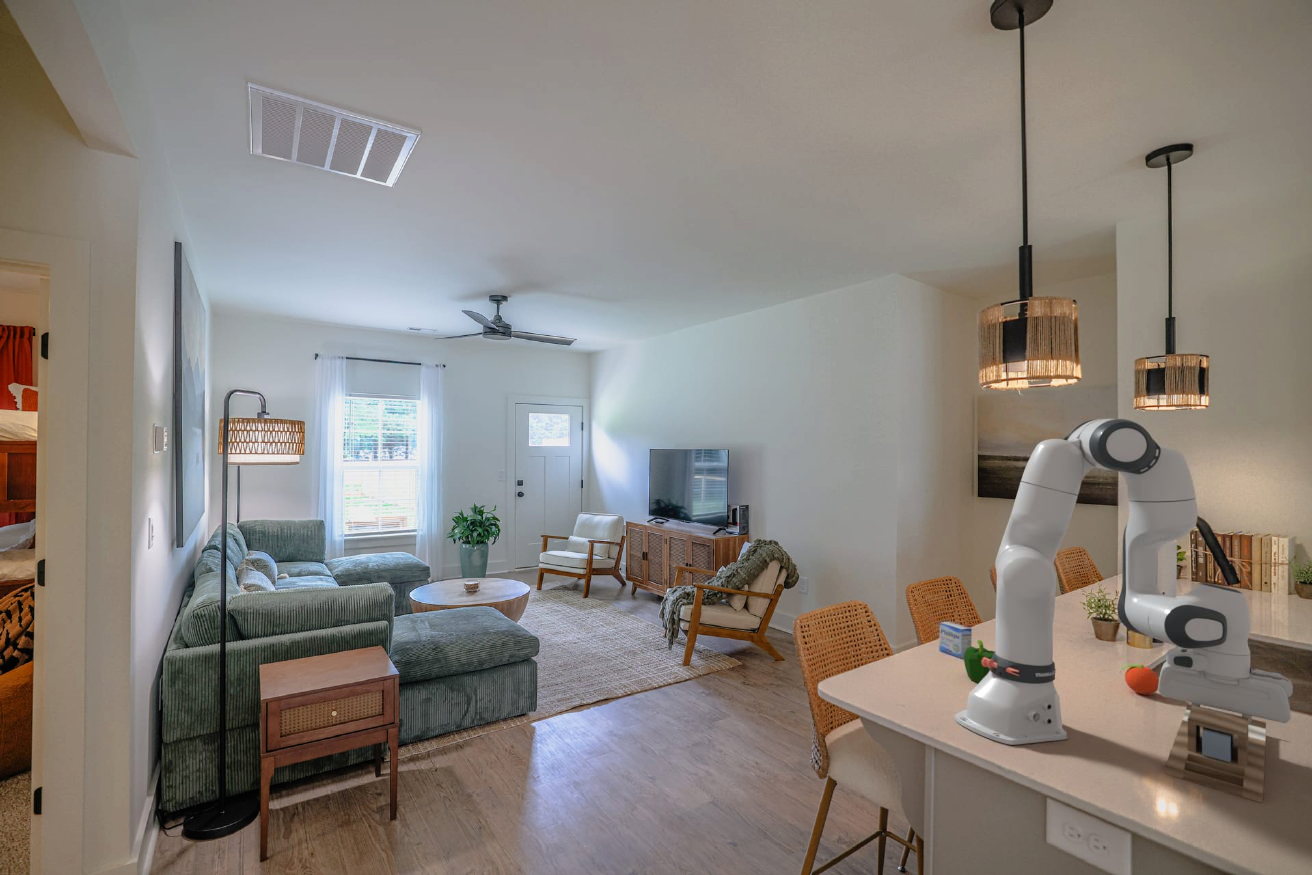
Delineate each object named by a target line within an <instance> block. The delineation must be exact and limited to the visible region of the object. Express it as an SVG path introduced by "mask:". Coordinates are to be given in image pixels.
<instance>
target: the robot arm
mask: <svg viewBox="0 0 1312 875" xmlns="http://www.w3.org/2000/svg"><path fill="white" fill-rule="evenodd" d="M1186 460H1187V459H1186V458H1185V456H1184V455H1183V453H1181V452H1180V451H1179V450H1177V449H1175V448H1172V447H1169V446H1163V445H1159V444H1158V443H1157V442H1156V441H1155V440H1154V438H1152V436H1151V434H1150V432H1148V431H1147V429H1146V428H1144V426H1142V425H1141V424H1139V423H1137V422H1135V421H1132V420H1131V419H1123V418H1114V417H1113V418H1112V417H1103V418H1097V419H1091V420H1087V421H1084V422H1083V423H1081V424H1079V425H1078V426H1076V427H1075V428H1074V429H1073V430H1072V431H1071V432H1070V433H1068V434H1067V435H1066V436H1064V438H1050V439H1049V438H1048V439H1045V440H1042V441H1040V442H1039V443H1038V444H1037V445H1036V446H1035V447H1034V449H1033V451H1032V453H1031V455H1030V457H1029V459H1028V461H1027V464H1025V465H1026V466H1025V468H1024V471H1023V474H1022V477H1021V479H1020V483H1019V486H1018V490H1017V493H1016V497H1015V499H1014V503H1013V507H1012V509H1011V512H1010V516H1009V518H1008V519H1009V520H1008V523H1007V525H1006V528H1005V530H1004V533H1003V536H1002V538H1001V541H1000V542H1001V543H1000V545H999V549H998V552H997V555H996V557H995V558H996V559H995V563H994V564H995V565H994V566H995V573H996V595H995V596H996V598H995V600H996V601H995V602H996V603H995V606H996V607H995V632H994V633H995V635H994V636H995V637H994V638H995V639H994V640H995V647H994V650H995V652H994V653H993V656H992V659H988V658H986V657H984V658H983V660H982V662H981V663H982V665H983V666H985V667H989V669H990V671H989V673H988V674H987V675H986V676H985V677H984V678H983V679H982V680H981V681H980V682H978V684H976V686H975V687H974V688H972V690H971V691H970V692H969V694H968V696H967V700H966V701H967V703H966V709H963V710H961V711H959V712H957V713H955V714H954V720H955V721H956V722H957V723H958V724H959V725H960V726H962V727H965V728H966V729H968V730H970V731H972V732H974V733H975V734H978V735H980V736H982V737H984V738H987V739H990V740H992V741H996V742H998V743H1002V744H1004V745H1009V746H1010V745H1011V746H1012V745H1014V746H1015V745H1025V744H1033V743H1035V744H1036V743H1043V742H1052V741H1062V740H1068V733H1067V732H1066V730H1064V728H1063V721H1062V712H1061V700H1060V695H1059V694H1058V692H1057V689H1056V688H1055V684H1054V681H1055V679H1056V672H1057V671H1056V663H1055V662H1054V661H1053V660H1054V659H1053V657H1054V656H1053V652H1054V649H1053V648H1054V644H1053V643H1054V638H1053V637H1054V634H1053V633H1054V620H1055V619H1054V618H1055V607H1056V593H1057V592H1056V591H1057V590H1056V589H1057V573H1056V570H1055V567H1054V562H1055V559H1056V557H1057V554H1058V552H1059V549H1060V548H1061V545H1062V542H1063V539H1064V537H1065V536H1066V533H1067V532H1068V529H1069V526H1070V523H1071V520H1072V518H1073V517H1072V515H1073V513H1074V509H1075V507H1076V503H1077V500H1078V496H1079V494H1080V489H1081V486H1082V481H1084V478H1085V477H1086V475H1087V474H1088V473H1089V472H1090V471H1091V470H1093V469H1095V468H1096V469H1100V470H1105V471H1114V472H1115V471H1116V472H1119V474H1121V475H1122V477H1123V479H1124V481H1125V483H1126V484H1125V485H1126V486H1127V497H1128V511H1129V512H1128V522H1127V524H1126V525H1125V527H1124V530H1123V535H1122V576H1121V577H1122V582H1121V583H1122V584H1121V590H1120V595H1119V596H1118V601H1117V605H1116V606H1117V608H1116V610H1117V611H1116V612H1117V615H1118V618H1119V620H1120V622H1121V623H1122V625H1124V627H1125V628H1127V629H1128V630H1129V631H1130V632H1133V633H1136V634H1139V635H1143V636H1146V637H1151V638H1153V639H1155V640H1157V641H1161V642H1162V643H1163V642H1164V643H1167V644H1168V645H1172V646H1175V647H1178V648H1170V649H1169V650H1168V651H1167V652H1166V653H1165V660H1166V661H1165V662H1164V663H1163V665H1162V667H1161V669H1160V674H1159V676H1158V678H1159V684H1158V690H1157V691H1158V693H1159V694H1160V695H1161V696H1162V697H1164V698H1169V699H1173V700H1178V701H1182V702H1186V703H1191V705H1192V706H1193V705H1195V706H1199V707H1201V706H1204V707H1209V708H1214V709H1219V710H1223V711H1226V712H1227V711H1228V712H1232V713H1237V714H1241V716H1242V717H1246V718H1248V724H1249V723H1250V722H1251V721H1252V719H1253V717H1255V718H1259V719H1263V720H1267V721H1273V722H1278V723H1281V724H1286V723H1288V722H1289V721H1291V720H1292V719H1291V718H1292V717H1291V707H1290V701H1289V698H1290V697H1291V696H1292V695H1293V693H1294V692H1293V691H1294V689H1293V683H1292V681H1291V680H1290V679H1289V678H1287V677H1285V676H1283V675H1282V674H1281V673H1278V672H1271V671H1266V670H1263V669H1257V668H1251V650H1250V647H1249V644H1248V642H1249V641H1248V640H1249V636H1250V635H1251V615H1250V607H1249V603H1248V600H1247V597H1246V595H1245V594H1244V593H1243V592H1241V591H1240V590H1238V589H1235V588H1230V587H1226V586H1223V585H1219V584H1215V583H1209V582H1199V583H1197V585H1196V586H1195V587H1194V589H1192V590H1191V591H1189V592H1186V593H1184V594H1182V595H1177V596H1175V597H1172V596H1169V595H1166V594H1164V593H1163V592H1161V590H1160V589H1159V587H1158V553H1159V551H1160V549H1161V548H1162V547H1163V546H1164V545H1166V544H1169V543H1172V542H1175V541H1178V540H1181V539H1183V538H1184V537H1186V536H1187V535H1189V534H1190V533H1191V532H1192V531H1193V530H1194V529H1195V528H1196V526H1197V521H1198V506H1197V505H1198V504H1197V503H1198V502H1197V498H1196V490H1195V486H1194V481H1193V478H1192V474H1191V472H1190V471H1191V470H1190V469H1189V464H1188V463H1187V461H1186Z"/></svg>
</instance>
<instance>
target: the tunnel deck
mask: <svg viewBox="0 0 1312 875" xmlns="http://www.w3.org/2000/svg"><path fill="white" fill-rule="evenodd" d="M1216 710H1217V709H1213V710H1212V708H1206V707H1202V706H1200V707H1199V706H1195V705H1193V706H1192V704H1189V703H1186V709H1185V712H1184V715H1183V718H1182V719H1181V723H1180V726H1179V728H1178V731H1177V733H1176V737H1175V738H1174V742H1173V744H1172V746H1171V747H1172V748H1171V749H1170V751H1169V755H1168V757H1167V759H1166V763H1165V774H1166V775H1169V776H1172V777H1176V778H1177V779H1182V780H1185V781H1188V782H1191V783H1195V784H1198V785H1202V786H1205V787H1208V788H1213V789H1216V790H1218V791H1222V792H1225V793H1229V794H1232V795H1235V796H1238V797H1240V798H1244V799H1248V800H1252V801H1255V802H1259V803H1262V804H1263V803H1264V785H1265V766H1266V765H1265V763H1266V744H1267V743H1266V741H1267V739H1266V738H1267V732H1266V731H1267V722H1266V721H1263V720H1258V719H1253V718H1252V721H1251V722H1250V723H1249V724H1248V718H1246V717H1242V715H1237V714H1234V715H1233V713H1230V714H1229V712H1226V713H1224V712H1225V711H1222V712H1220V710H1217V711H1216ZM1203 727H1206V728H1210V729H1214V730H1218V731H1222V732H1226V733H1230V734H1234V735H1235V737H1234V743H1233V749H1232V755H1231V761H1230V762H1227V761H1223V760H1220V759H1216V758H1212V757H1209V756H1205V755H1202V730H1203Z"/></svg>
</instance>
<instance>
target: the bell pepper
mask: <svg viewBox="0 0 1312 875" xmlns="http://www.w3.org/2000/svg"><path fill="white" fill-rule="evenodd" d="M977 644H978V646H979V647H974V646H972V645H971V646H970V647H969V648H967V650H966V651H965V653H964V658H963V662H964V667H965V671H966V675H967V676H968V678H969V679H970V680H972V681H973V682H975V683H979V682H980V681H981V680H982V679H983V678H984V677H985V676H986V675H987V674H988V673H989V671H990V669H989V667H985V666H983V665H982V663H981V662H982V660H983V658H984V657H986V658H988V659H992V656H993V653H994V652H995V651H994V650H988V649H987V648H985V647H984V643H983V641H982V640H980V639H978V640H977Z"/></svg>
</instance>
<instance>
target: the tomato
mask: <svg viewBox="0 0 1312 875" xmlns="http://www.w3.org/2000/svg"><path fill="white" fill-rule="evenodd" d="M1125 668H1126V669H1127V668H1128V669H1127V670H1126V671H1125V674H1124V679H1125V680H1124V681H1125V682H1126V684H1127V686H1128V688H1129V689H1130V690H1132V691H1133V692H1134V693H1137V694H1141V695H1146V696H1147V695H1151V694H1154V693H1156V692H1157V691H1158V684H1159V676H1158V674H1157V673H1156V672H1155V671H1154V670H1152V669H1151V668H1150V667H1148V666H1145V665H1140V664H1139V665H1137V664H1129V665H1126V666H1124V667H1123V668H1122V669H1120V671H1119V673H1121V672H1122V671H1123V670H1124V669H1125Z"/></svg>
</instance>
